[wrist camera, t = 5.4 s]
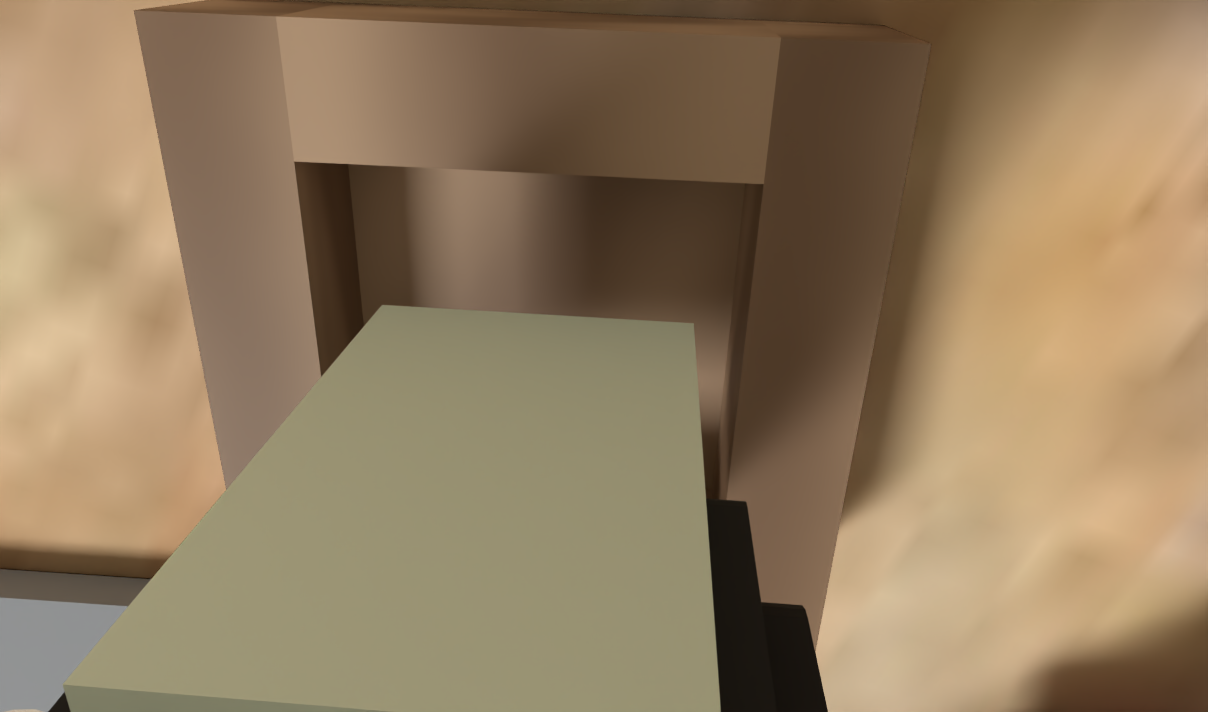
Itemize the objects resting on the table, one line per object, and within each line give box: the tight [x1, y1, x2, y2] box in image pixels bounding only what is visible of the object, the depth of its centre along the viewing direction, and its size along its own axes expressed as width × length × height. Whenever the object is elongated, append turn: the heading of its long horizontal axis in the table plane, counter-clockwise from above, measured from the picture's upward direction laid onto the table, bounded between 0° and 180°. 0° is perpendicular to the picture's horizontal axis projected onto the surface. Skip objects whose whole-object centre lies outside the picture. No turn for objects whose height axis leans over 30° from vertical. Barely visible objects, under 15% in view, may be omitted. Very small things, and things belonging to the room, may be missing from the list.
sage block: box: [63, 305, 721, 712], centre depth 11 cm, size 5×5×8 cm
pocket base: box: [134, 0, 931, 650], centre depth 17 cm, size 12×12×3 cm
